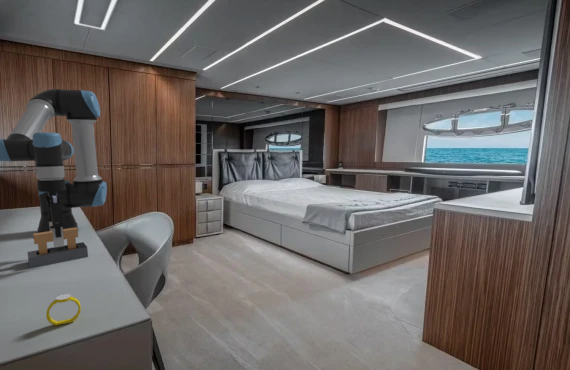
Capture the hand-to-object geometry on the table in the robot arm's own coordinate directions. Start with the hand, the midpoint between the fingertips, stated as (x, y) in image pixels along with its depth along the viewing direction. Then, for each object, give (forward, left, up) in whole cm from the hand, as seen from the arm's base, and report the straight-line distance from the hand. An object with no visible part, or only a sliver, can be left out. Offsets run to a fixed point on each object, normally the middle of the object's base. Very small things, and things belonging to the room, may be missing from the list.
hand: (57, 242), depth 105 cm
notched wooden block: (0, 0, -6) cm, 6 cm away
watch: (+38, +33, -6) cm, 50 cm away
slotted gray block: (0, 0, -6) cm, 6 cm away
